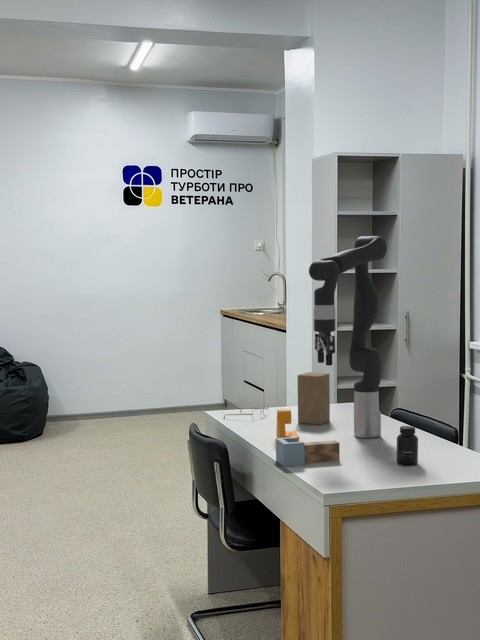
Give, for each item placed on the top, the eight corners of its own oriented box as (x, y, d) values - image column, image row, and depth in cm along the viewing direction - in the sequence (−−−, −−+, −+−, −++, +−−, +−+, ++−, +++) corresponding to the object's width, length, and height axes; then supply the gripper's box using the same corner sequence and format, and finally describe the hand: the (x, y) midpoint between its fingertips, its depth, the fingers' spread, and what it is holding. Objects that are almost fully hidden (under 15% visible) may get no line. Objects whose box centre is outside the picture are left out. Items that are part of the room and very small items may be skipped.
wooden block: (330, 421, 338) (329, 373, 337) (319, 425, 330) (318, 376, 328) (308, 419, 343) (308, 372, 342) (297, 423, 335) (297, 374, 334)
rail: (335, 458, 273) (334, 440, 273) (339, 460, 269) (339, 443, 269) (289, 461, 270) (289, 443, 269) (293, 464, 265) (293, 446, 265)
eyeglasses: (255, 422, 341) (255, 410, 341) (223, 419, 348) (223, 408, 347) (271, 415, 355) (270, 404, 355) (240, 413, 362) (240, 402, 362)
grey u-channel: (296, 459, 272) (295, 437, 272) (304, 465, 264) (304, 442, 263) (276, 460, 271) (275, 438, 270) (283, 466, 262) (283, 443, 262)
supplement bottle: (405, 467, 259) (405, 430, 259) (392, 462, 266) (392, 426, 265) (422, 464, 263) (422, 427, 262) (408, 460, 269) (408, 424, 268)
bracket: (299, 444, 295) (299, 411, 295) (279, 445, 295) (279, 412, 294) (295, 438, 306) (295, 406, 305) (276, 438, 306) (276, 407, 305)
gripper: (341, 318, 278) (342, 365, 279) (327, 316, 292) (328, 361, 293) (321, 319, 276) (321, 366, 277) (307, 317, 290) (308, 362, 291)
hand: (324, 364), depth 285 cm, fingers open, 8 cm apart
